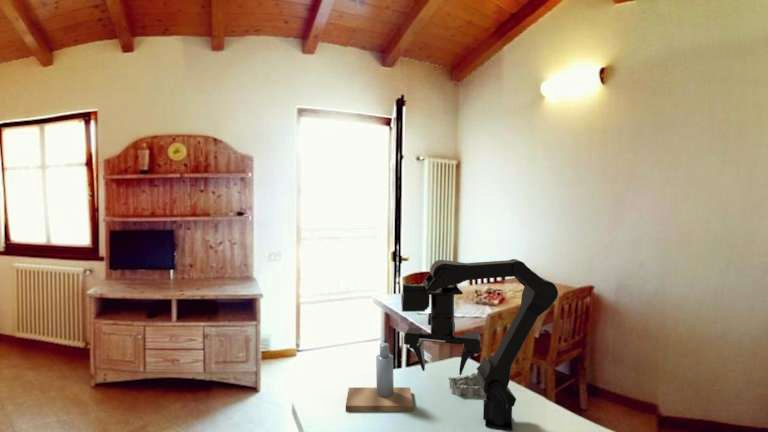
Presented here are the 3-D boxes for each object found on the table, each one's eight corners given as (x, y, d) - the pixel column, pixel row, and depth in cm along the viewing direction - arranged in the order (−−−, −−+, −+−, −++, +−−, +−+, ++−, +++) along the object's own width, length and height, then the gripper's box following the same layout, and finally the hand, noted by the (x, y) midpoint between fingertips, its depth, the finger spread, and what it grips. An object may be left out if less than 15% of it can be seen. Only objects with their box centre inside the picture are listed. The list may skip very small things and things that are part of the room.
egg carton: (482, 385, 119) (483, 372, 119) (488, 398, 112) (488, 384, 111) (447, 384, 119) (448, 371, 119) (451, 397, 112) (451, 383, 112)
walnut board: (410, 392, 114) (410, 387, 114) (412, 411, 104) (412, 405, 104) (348, 392, 114) (348, 387, 114) (345, 411, 104) (345, 405, 104)
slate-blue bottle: (395, 390, 112) (394, 342, 112) (391, 398, 108) (390, 348, 107) (379, 388, 114) (378, 340, 113) (374, 396, 109) (373, 347, 108)
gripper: (481, 305, 103) (480, 363, 104) (411, 300, 108) (411, 356, 108) (480, 317, 92) (479, 382, 93) (403, 311, 97) (403, 373, 97)
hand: (441, 372), depth 98 cm, fingers open, 9 cm apart
